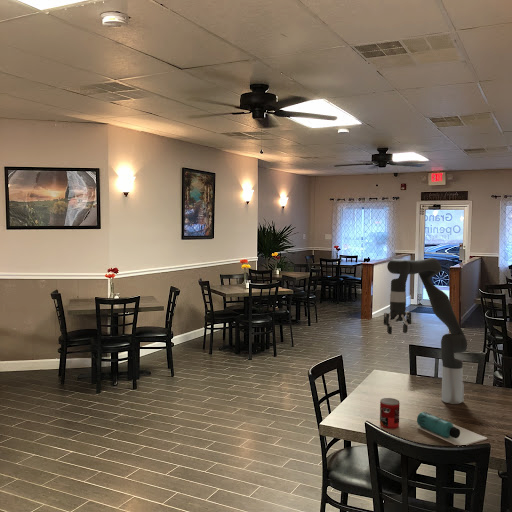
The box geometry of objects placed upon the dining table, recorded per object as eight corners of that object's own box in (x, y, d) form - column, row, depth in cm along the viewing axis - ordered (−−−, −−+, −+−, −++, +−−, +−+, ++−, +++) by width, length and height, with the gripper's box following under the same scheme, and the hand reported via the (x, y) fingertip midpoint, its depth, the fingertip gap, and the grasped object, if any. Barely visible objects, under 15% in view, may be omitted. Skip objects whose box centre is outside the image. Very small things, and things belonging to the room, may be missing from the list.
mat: (417, 427, 225) (417, 426, 225) (443, 421, 232) (443, 420, 232) (459, 447, 205) (460, 445, 205) (487, 439, 213) (487, 438, 213)
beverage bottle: (426, 416, 229) (465, 432, 211) (418, 428, 226) (456, 445, 209) (420, 406, 226) (458, 421, 209) (411, 418, 224) (449, 435, 207)
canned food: (377, 422, 230) (377, 397, 230) (395, 422, 231) (395, 397, 230) (383, 429, 223) (383, 403, 222) (401, 429, 223) (402, 403, 223)
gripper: (405, 298, 263) (405, 331, 264) (381, 300, 259) (380, 332, 260) (415, 300, 256) (414, 334, 257) (389, 302, 252) (389, 335, 253)
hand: (397, 333), depth 258 cm, fingers open, 8 cm apart
